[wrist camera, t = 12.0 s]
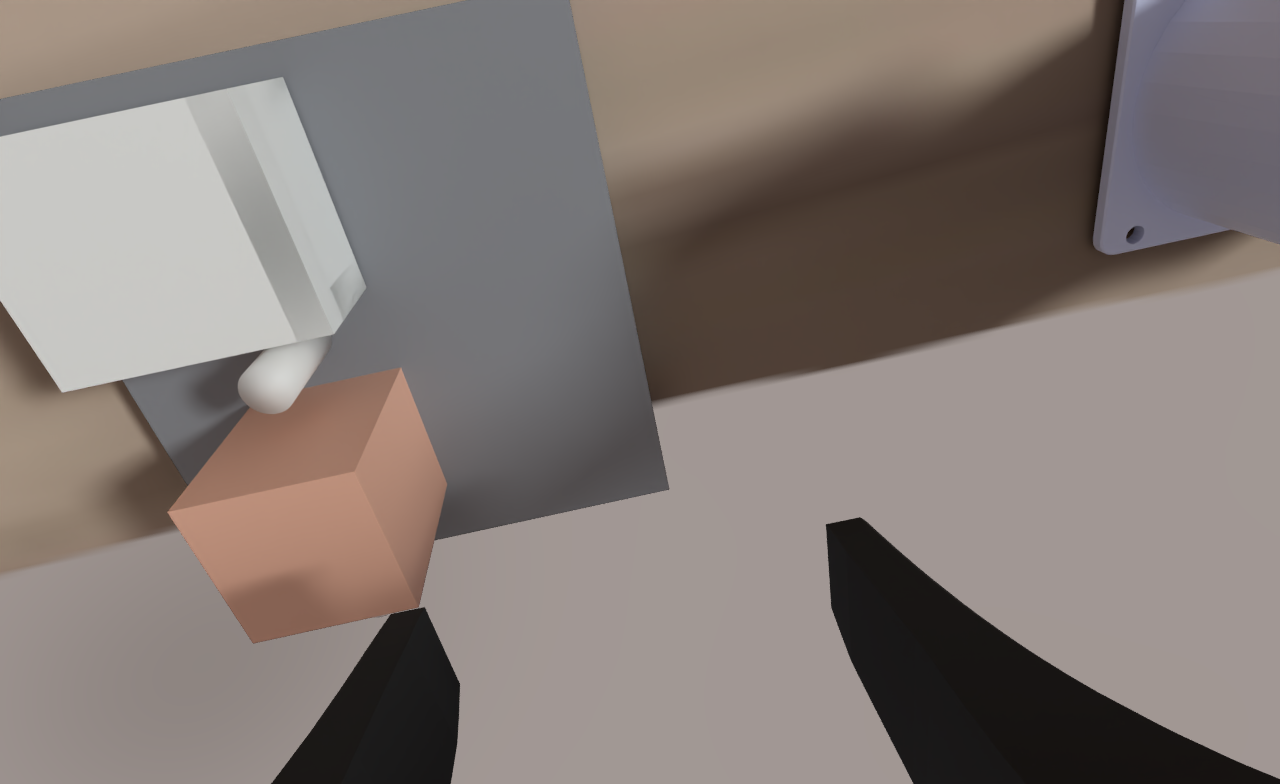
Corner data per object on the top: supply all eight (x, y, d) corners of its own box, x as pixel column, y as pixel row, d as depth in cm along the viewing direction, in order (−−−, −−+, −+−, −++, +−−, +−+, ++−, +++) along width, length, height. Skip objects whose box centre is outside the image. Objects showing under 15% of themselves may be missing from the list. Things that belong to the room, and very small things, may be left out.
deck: (564, -19, 16) (567, -29, 13) (664, 471, 23) (684, 553, 19) (-13, 103, 16) (-172, 127, 13) (258, 559, 23) (204, 658, 19)
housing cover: (283, 77, 15) (226, 88, 13) (366, 287, 18) (333, 334, 15) (14, 133, 15) (-97, 157, 13) (135, 337, 18) (62, 392, 15)
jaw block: (400, 367, 19) (354, 471, 15) (447, 484, 21) (418, 607, 17) (256, 398, 19) (167, 512, 15) (316, 512, 21) (253, 643, 17)
